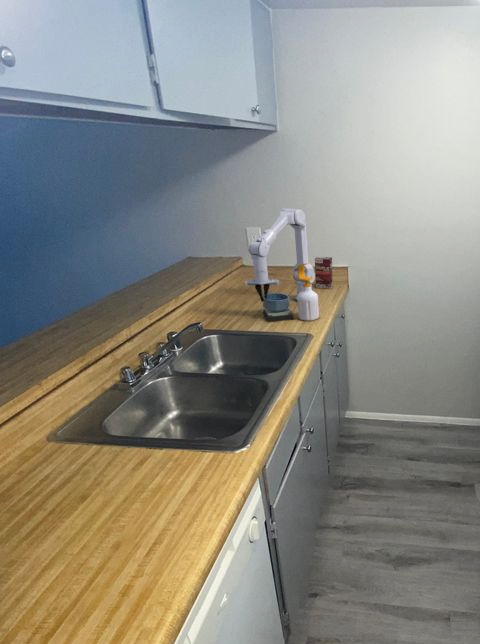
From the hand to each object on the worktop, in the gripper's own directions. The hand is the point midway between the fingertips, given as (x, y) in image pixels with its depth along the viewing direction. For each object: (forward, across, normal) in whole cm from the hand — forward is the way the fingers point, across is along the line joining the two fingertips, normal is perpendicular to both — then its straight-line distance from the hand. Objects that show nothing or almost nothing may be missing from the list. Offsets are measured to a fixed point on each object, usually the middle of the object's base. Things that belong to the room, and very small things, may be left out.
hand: (263, 301), depth 211 cm
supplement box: (+7, +30, +44) cm, 54 cm away
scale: (+7, +6, -1) cm, 9 cm away
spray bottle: (+7, +19, -6) cm, 21 cm away
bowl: (+3, +5, 0) cm, 6 cm away
